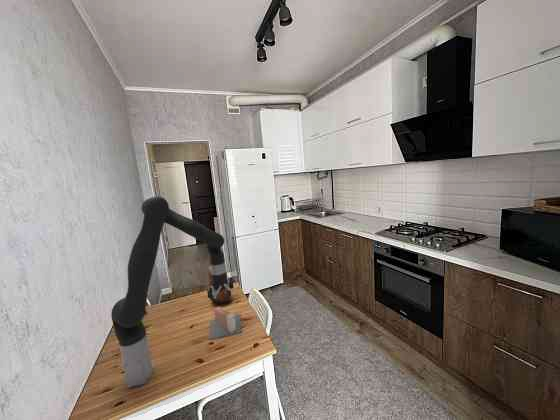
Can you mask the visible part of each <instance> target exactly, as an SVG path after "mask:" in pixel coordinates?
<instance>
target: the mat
mask: <svg viewBox="0 0 560 420" xmlns="http://www.w3.org/2000/svg"><path fill="white" fill-rule="evenodd" d="M234 315H235V323H236V330H234V331H233V332H230V331H228V330H227V329H225V328H224V327H222V326H220V325H219V324H217V323H216V320H215V318H214V319H211V320H210V326H209V333H208V334H209V335H208V341H211V340H216V339H221V338H225V337H229V336H234V335H238V334H242V332H243V331H242V322H241V314H240V313H239V314H234Z"/></svg>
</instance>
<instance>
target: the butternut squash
mask: <svg viewBox="0 0 560 420" xmlns="http://www.w3.org/2000/svg"><path fill="white" fill-rule="evenodd" d="M226 272H227V270H226ZM227 273H228V272H227ZM207 275H208V283H209V287H210V286H212V285H213V282H212V275H211V265H210V266H209V267H208V269H207ZM227 286H228V287H229V283H227ZM213 289H214V288H213ZM215 292H216V291H215ZM212 293H213V291H212ZM230 299H231V298H228V297H227V290H226V289H224V290H222V291H220V292H219V293H218V295H217V296H216V301H217V304H220V305H223V304H225V303H228V301H229V300H230ZM210 301H211V302H212V299H210Z"/></svg>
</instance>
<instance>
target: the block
mask: <svg viewBox="0 0 560 420" xmlns="http://www.w3.org/2000/svg"><path fill="white" fill-rule="evenodd" d="M213 311H214V317H215V318H214V319H215V320H216V323H217V324H219V325H220V326H222V327H224V328H225V329H227V330H228V331H230V332H233V331H234V330H236V323H235V315H236V314H233V313H232V312H230V311H228V310H227V309H224V308H222V307H220V306H217V307H216V308H214V310H213Z"/></svg>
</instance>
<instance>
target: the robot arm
mask: <svg viewBox="0 0 560 420" xmlns="http://www.w3.org/2000/svg"><path fill="white" fill-rule="evenodd" d="M141 212H142V213H143V221H142V226H141V228H140V231H139V233H138V235H137V237H136V238H135V239H136V240H135V241H134V243H133V246H132V249H131V251H130V255H129V259H128V264H127V282H128V283H127V292H126V295H125V297H123V298H121V299H119V300H118V301H116V303H115V304H114V305H113V306H112V308H111V321H112V326H113V330H114V335H115V336H116V339H117V341H118V345H119V350H120V354H121V360H122V365H123V367H122V368H123V373H124V378H125V383H126V387H127V389H129V388H130V389H131V388H134V387H137V386H140V385H144V384H146V382H147V381H148V380H149V379H150V378H151V377H152V375H153V373H154V367H153V362H152V358H151V351H150V346H149V341H148V335H147V329H146V327H145V325H144V322H143V323H142V321H141V320H142V319H143V318H144V316H145V314H146V313H145V310H147V309H146V308H147V302H148V301H147V299H148V293H149V286H150V284H151V279H152V277H153V270H154V267H155V264H156V261H157V255H158V250H159V246H160V240H161V234H162V230H163V227H164V224H167V225H169V226H171V227H173V228H175V229H177V230H179V231H181V232H183V233H185V234H186V235H188V236H189V237H192V238H194V239H196V240H198V241H201V242H203V243H205V244H206V248H207V251H208V254H209V260H210V261H209V263H210V266H211V275H212V282H213V285H212V286H210V285H208V286H207V287H206V292H207V293H206V294H207V298H208V299H210V300H211V299H212V301H211V304H212V305H213V306H217V305H218V303H217V301H216V296H217V295H218V293H219V292H220V291H222V290H224V289H226V290H227V297H228V298H230V299H231V297H232V290H233V289H234V288H235V287H234V281H233V277H231V276H230V277H229V276H228V272H226V271H227V267H226V261H225V254H224V252H223V250H222V247H223V246H224V245H225V238H224V236H223V235H221V234H220V233H218V232H216V231H214V230H211V229H210V228H207V226H205V225H204V224H202V223H200V222H198V221H196V220H194V219H192V218H189V217H186V216H185V215H182V214H179V213H177V212H176V211H174V210H173V209H171V208H170V205H169V203H168V200H166V199H165V198H164V197H162V196H152V197H149V198H147V199H145V200H144V201H143V202H142V205H141ZM227 283H228V285H229V287H228V286H227ZM213 288H214V289H213ZM212 291H213V293H212ZM215 291H216V292H215ZM144 313H145V314H144Z"/></svg>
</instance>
